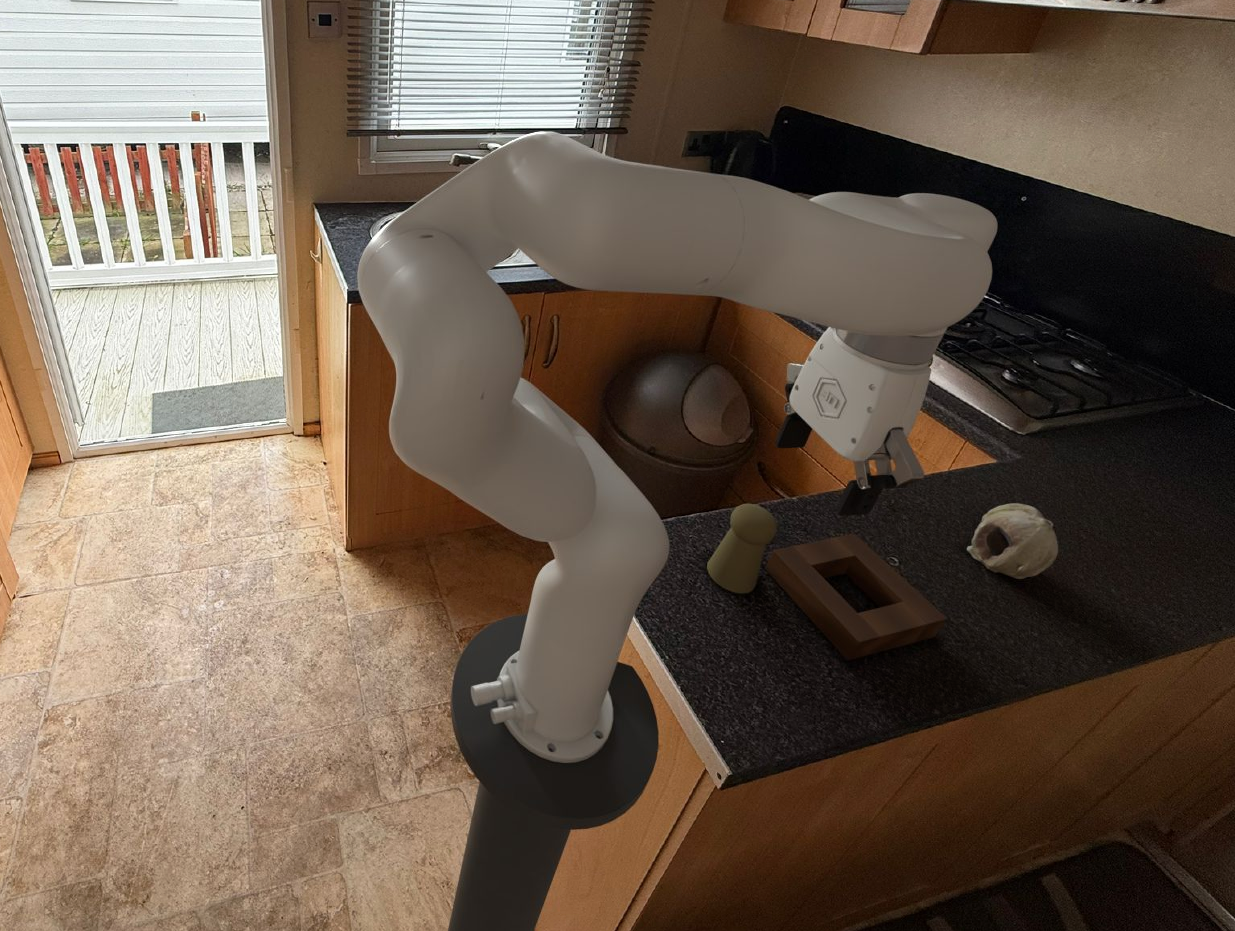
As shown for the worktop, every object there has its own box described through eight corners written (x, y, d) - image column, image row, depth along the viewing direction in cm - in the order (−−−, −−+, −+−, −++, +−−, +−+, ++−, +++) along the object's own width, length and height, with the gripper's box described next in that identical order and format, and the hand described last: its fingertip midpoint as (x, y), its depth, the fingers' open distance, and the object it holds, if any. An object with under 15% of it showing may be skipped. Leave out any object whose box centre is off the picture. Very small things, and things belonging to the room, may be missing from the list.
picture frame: (847, 661, 77) (859, 642, 76) (764, 568, 89) (773, 550, 87) (934, 637, 81) (948, 618, 79) (844, 551, 92) (854, 533, 90)
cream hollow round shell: (968, 549, 97) (990, 486, 95) (1045, 579, 91) (1070, 513, 89) (959, 565, 91) (983, 498, 89) (1042, 598, 85) (1069, 527, 83)
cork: (708, 585, 86) (734, 524, 80) (705, 550, 91) (729, 491, 85) (759, 599, 84) (788, 538, 79) (752, 563, 89) (779, 503, 84)
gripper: (788, 290, 66) (737, 425, 75) (925, 391, 51) (842, 546, 60) (856, 289, 67) (798, 423, 76) (1009, 388, 52) (916, 541, 61)
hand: (818, 477), depth 68 cm, fingers open, 9 cm apart
